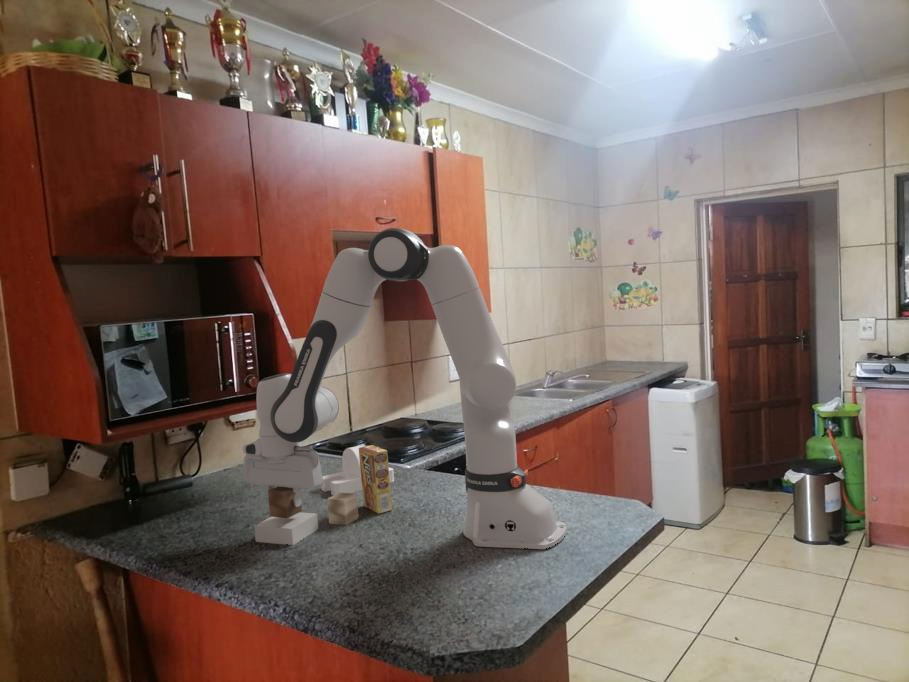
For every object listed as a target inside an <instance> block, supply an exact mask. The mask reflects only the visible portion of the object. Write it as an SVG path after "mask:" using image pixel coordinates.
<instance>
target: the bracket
mask: <svg viewBox="0 0 909 682" xmlns="http://www.w3.org/2000/svg"><path fill="white" fill-rule="evenodd" d="M360 447H363V446H362V445H357V446H352V447H346V448H345V449H344V450H343V453H342V458H341V462H342V465H341V466H342V471H340V472H336V473H332V474H326V475H322V478H323V482H322V484H321V485H320V488H321V489H320V490H321V491H323V492H324V493H325V492H330V494H331V495H332V496H334V495H336V494H338V493H350V494H354V493H356V492H360V491H362V481H361V469H360V458H359V448H360ZM394 473H395V472H394V468H392V467H389V478H390V484H391V483H393V482H395V476H394Z"/></svg>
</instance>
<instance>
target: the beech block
mask: <svg viewBox="0 0 909 682" xmlns="http://www.w3.org/2000/svg"><path fill="white" fill-rule="evenodd" d="M357 495H358V494H357V493H338V494H336V495H334V496H333V495H332V496H330V497H328V498H327V500H326V501H327V502H326V503H327V513H328V524H332V525H342V526H347V525H350V524H351V523H353V522H354V521H356V520H358V519H359V507H358V506H359V505H358V496H357Z"/></svg>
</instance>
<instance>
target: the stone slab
mask: <svg viewBox="0 0 909 682" xmlns="http://www.w3.org/2000/svg"><path fill="white" fill-rule="evenodd" d="M253 527H254V536H255V537H254V538H255V542H257V543H265V544H266V543H267V544H277V545H286V544H288V545H289V546H294V545H295V544H298V543H299V542H300V540H301V541H302V540H304V539H306V538H307V537H308V536H310V535H311V534H312V533H314V532H316V531H317V530H319V520H318V513H313V512H312V513H311V512H299V513H297V514H295V515H293V516H291V517H289V518H279V517H271V516H269V517H268V518H266V519H265V520H263V521H260V522H259V523H257V524H254V526H253ZM303 538H304V539H303Z"/></svg>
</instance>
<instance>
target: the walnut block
mask: <svg viewBox="0 0 909 682" xmlns="http://www.w3.org/2000/svg"><path fill="white" fill-rule="evenodd" d="M295 494H296V492H294V490H293V488H289V487H278V486H275V487H274V488H273V489H270V490H268V495H267V496H268V507H269V517H279V518H289V517H291V516H293V515H295V514H297V513H299V512H300V513H302V512H303V509H302V504H301V505H300V506H298V507H293V506H291V499H293V498H294V496H295Z"/></svg>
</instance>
